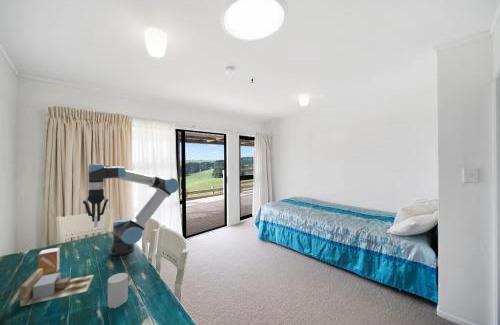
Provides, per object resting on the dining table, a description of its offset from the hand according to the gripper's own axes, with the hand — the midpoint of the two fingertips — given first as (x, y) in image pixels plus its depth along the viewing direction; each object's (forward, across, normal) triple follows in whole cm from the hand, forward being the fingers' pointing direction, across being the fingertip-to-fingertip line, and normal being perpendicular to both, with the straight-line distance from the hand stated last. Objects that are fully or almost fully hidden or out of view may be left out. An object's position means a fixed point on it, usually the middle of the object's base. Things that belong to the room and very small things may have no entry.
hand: (96, 226), depth 124 cm
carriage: (+25, +16, +18) cm, 35 cm away
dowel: (+25, +13, +18) cm, 34 cm away
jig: (+26, +11, +18) cm, 34 cm away
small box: (+27, +24, -7) cm, 37 cm away
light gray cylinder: (+27, -16, +40) cm, 51 cm away
